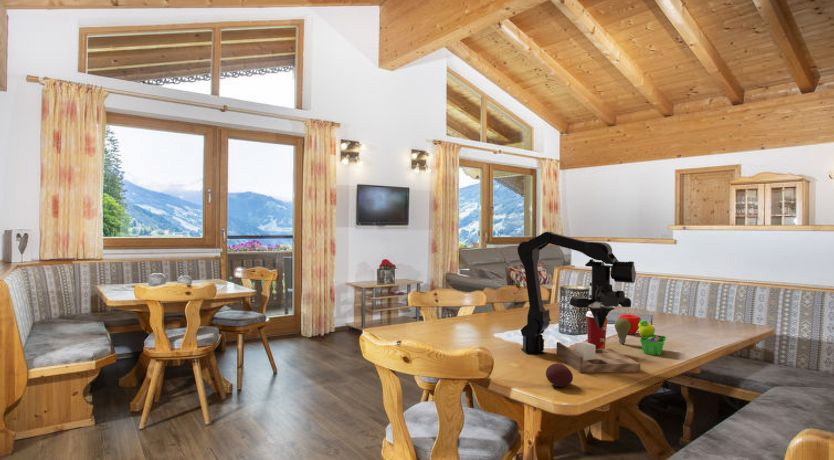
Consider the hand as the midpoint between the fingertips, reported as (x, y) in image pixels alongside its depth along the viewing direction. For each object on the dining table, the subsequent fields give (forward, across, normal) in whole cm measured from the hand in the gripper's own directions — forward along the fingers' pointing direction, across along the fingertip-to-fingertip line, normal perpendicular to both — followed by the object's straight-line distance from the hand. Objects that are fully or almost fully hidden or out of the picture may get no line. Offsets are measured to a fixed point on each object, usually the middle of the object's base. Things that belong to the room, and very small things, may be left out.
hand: (599, 328), depth 159 cm
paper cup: (+12, +7, +16) cm, 21 cm away
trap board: (+12, -1, 0) cm, 12 cm away
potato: (+12, -22, -19) cm, 32 cm away
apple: (+12, +35, +42) cm, 56 cm away
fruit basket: (+12, +27, +14) cm, 32 cm away
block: (+9, -6, -2) cm, 11 cm away
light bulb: (+12, +22, +25) cm, 35 cm away
